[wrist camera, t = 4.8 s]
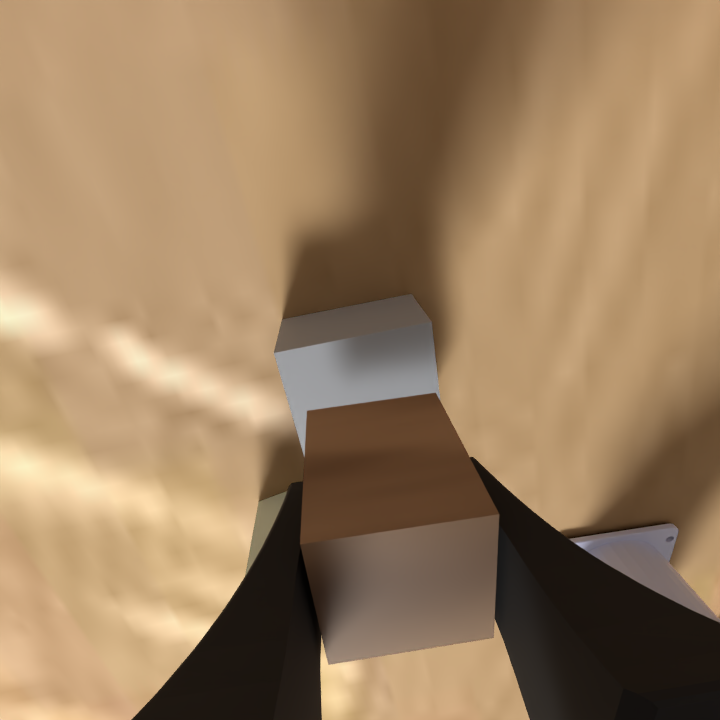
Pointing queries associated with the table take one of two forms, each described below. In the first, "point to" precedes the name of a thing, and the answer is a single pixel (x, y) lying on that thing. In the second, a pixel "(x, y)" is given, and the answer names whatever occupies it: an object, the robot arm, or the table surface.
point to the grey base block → (356, 356)
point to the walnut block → (395, 530)
